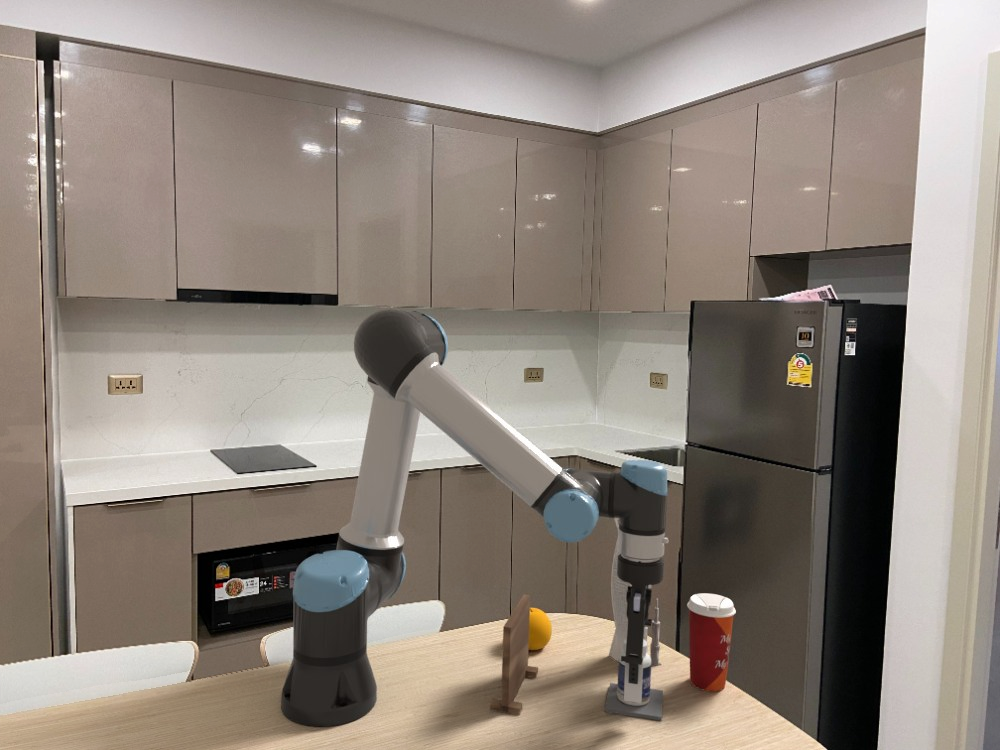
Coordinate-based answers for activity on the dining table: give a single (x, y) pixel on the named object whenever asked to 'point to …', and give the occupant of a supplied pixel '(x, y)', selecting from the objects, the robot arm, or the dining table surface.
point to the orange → (539, 629)
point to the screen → (515, 658)
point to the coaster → (645, 711)
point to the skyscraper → (620, 616)
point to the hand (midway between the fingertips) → (635, 681)
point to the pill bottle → (645, 678)
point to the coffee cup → (709, 640)
